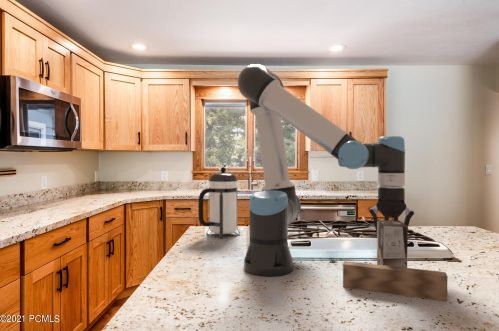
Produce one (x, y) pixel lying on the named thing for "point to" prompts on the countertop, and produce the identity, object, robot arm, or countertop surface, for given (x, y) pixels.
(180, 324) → the countertop surface
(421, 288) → the board
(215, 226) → the coffee press
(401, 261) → the coffee box
